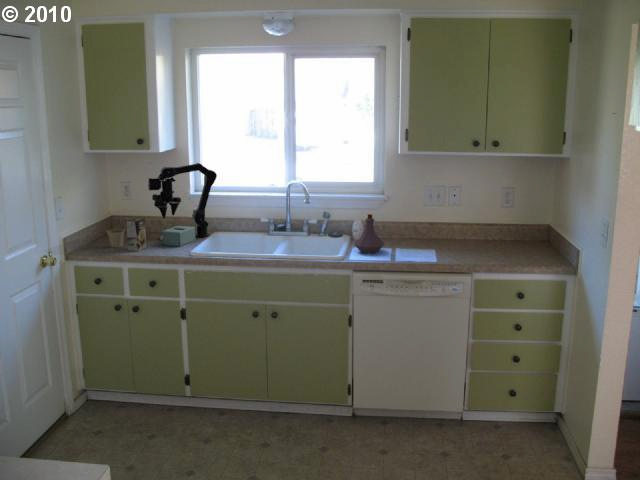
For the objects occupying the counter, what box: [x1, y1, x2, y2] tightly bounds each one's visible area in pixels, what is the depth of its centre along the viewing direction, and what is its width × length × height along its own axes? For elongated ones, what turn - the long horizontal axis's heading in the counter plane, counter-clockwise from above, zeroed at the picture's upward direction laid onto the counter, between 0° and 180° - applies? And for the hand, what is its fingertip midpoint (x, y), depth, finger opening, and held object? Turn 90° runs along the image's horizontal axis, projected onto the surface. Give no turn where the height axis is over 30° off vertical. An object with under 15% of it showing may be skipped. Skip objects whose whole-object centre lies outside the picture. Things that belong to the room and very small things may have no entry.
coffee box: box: [126, 217, 147, 252], centre depth 349 cm, size 9×6×16 cm
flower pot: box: [106, 228, 126, 249], centre depth 355 cm, size 9×9×9 cm
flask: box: [353, 213, 385, 254], centre depth 345 cm, size 16×16×20 cm
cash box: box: [161, 225, 196, 248], centre depth 365 cm, size 16×11×8 cm
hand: (168, 216), depth 373 cm, fingers open, 9 cm apart
